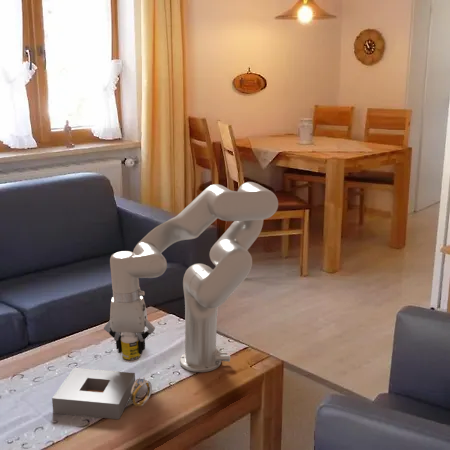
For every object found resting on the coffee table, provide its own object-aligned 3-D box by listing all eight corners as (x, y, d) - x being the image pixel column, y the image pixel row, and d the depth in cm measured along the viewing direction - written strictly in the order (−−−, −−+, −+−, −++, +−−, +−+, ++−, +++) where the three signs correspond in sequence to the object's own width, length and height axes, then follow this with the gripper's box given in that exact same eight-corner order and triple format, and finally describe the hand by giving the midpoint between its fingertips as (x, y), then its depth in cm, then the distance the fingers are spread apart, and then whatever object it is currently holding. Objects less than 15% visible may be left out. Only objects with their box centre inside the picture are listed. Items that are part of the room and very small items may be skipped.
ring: (135, 412, 168) (134, 386, 166) (127, 407, 170) (126, 381, 168) (155, 402, 173) (154, 376, 171) (147, 397, 175) (146, 372, 173)
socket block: (135, 387, 180) (134, 373, 179) (119, 419, 165) (118, 404, 164) (74, 381, 182) (73, 367, 181) (53, 413, 167) (52, 398, 166)
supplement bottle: (131, 365, 182) (128, 334, 179) (118, 359, 185) (115, 329, 182) (145, 357, 186) (142, 327, 183) (132, 352, 189) (130, 322, 186)
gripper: (159, 289, 182) (162, 346, 187) (101, 288, 184) (106, 344, 189) (152, 300, 175) (156, 359, 180) (93, 299, 177) (98, 356, 182)
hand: (131, 350), depth 185 cm, fingers closed on supplement bottle, 5 cm apart
